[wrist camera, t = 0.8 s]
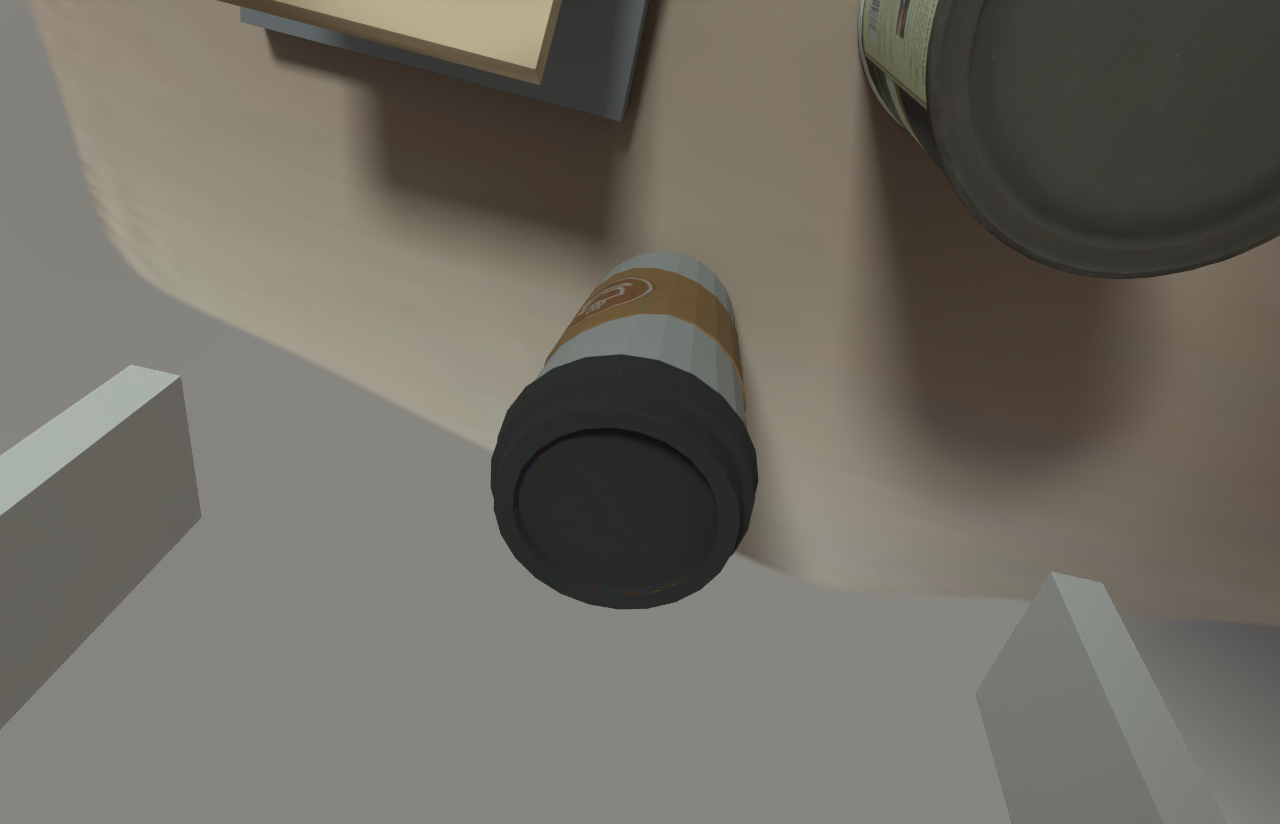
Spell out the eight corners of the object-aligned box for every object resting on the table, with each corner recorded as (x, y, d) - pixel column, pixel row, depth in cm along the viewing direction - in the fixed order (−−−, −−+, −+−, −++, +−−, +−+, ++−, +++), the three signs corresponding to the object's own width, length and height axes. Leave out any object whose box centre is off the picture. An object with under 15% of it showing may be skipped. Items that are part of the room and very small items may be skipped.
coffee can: (1156, 116, 30) (1431, 231, 18) (873, 178, 32) (946, 316, 20) (1172, -219, 25) (1559, -370, 13) (839, -118, 28) (907, -168, 15)
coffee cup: (699, 188, 33) (667, 340, 20) (788, 350, 36) (808, 570, 24) (537, 279, 36) (418, 462, 23) (631, 421, 39) (574, 652, 26)
